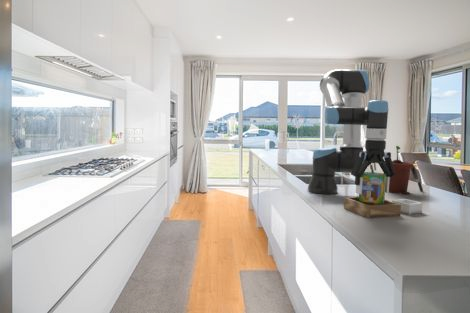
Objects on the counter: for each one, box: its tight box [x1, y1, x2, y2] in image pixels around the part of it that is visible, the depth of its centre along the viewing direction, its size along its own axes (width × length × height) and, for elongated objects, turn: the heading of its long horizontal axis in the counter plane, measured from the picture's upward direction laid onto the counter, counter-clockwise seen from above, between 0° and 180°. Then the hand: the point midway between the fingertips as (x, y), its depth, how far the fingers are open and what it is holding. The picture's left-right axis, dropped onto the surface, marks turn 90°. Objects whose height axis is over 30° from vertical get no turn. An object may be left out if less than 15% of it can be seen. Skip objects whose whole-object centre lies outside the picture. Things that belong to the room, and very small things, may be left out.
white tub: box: [391, 198, 423, 215], centre depth 132 cm, size 8×8×4 cm
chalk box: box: [358, 164, 386, 205], centre depth 128 cm, size 9×9×15 cm
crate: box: [343, 196, 401, 219], centre depth 129 cm, size 15×15×4 cm
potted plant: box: [385, 145, 424, 196], centre depth 174 cm, size 18×22×25 cm
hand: (372, 192), depth 129 cm, fingers closed on chalk box, 12 cm apart
